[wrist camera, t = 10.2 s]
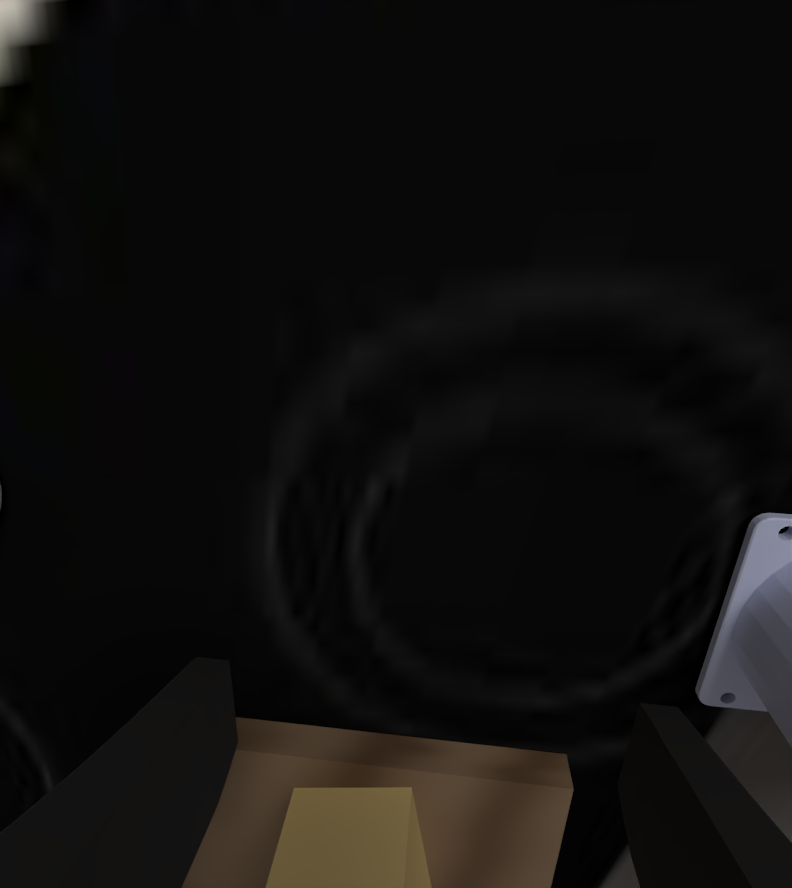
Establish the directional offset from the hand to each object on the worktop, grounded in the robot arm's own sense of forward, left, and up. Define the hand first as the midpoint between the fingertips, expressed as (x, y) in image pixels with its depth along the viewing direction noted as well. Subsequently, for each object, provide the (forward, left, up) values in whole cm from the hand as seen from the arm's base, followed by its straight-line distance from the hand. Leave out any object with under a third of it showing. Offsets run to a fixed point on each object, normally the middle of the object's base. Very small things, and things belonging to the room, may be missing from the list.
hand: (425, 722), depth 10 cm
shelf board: (+3, +18, -9) cm, 21 cm away
